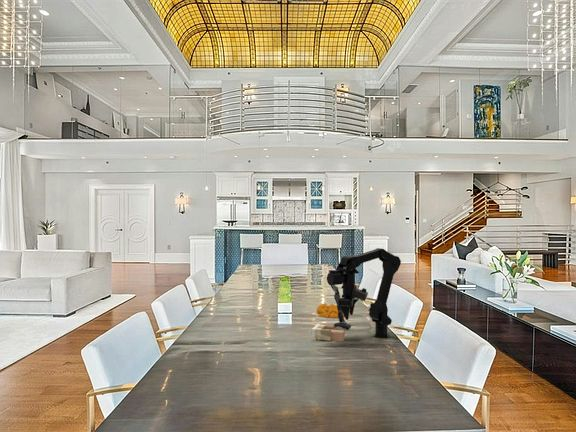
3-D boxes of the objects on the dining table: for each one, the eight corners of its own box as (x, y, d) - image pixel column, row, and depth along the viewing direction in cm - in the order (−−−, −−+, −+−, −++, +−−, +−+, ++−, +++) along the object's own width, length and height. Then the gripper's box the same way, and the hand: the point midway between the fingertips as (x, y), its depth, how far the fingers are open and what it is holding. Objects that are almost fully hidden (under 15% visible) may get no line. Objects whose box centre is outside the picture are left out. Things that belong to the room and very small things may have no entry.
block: (320, 334, 202) (320, 324, 202) (334, 335, 200) (334, 325, 200) (315, 339, 194) (315, 329, 194) (330, 340, 191) (329, 330, 191)
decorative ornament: (316, 311, 233) (317, 300, 263) (317, 319, 233) (317, 307, 263) (350, 311, 232) (347, 300, 262) (350, 319, 232) (347, 308, 262)
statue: (350, 331, 208) (352, 282, 208) (326, 329, 211) (328, 280, 210) (351, 326, 218) (353, 279, 218) (328, 324, 221) (330, 277, 220)
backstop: (317, 334, 203) (317, 323, 203) (320, 334, 202) (320, 324, 202) (311, 339, 194) (311, 329, 194) (315, 340, 193) (315, 329, 193)
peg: (343, 341, 192) (343, 332, 192) (322, 339, 195) (322, 331, 195) (344, 339, 196) (344, 330, 196) (324, 337, 199) (323, 328, 199)
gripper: (362, 287, 180) (362, 323, 180) (369, 281, 197) (370, 313, 197) (337, 286, 184) (337, 321, 184) (346, 280, 201) (347, 312, 201)
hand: (349, 317), depth 192 cm, fingers open, 9 cm apart
